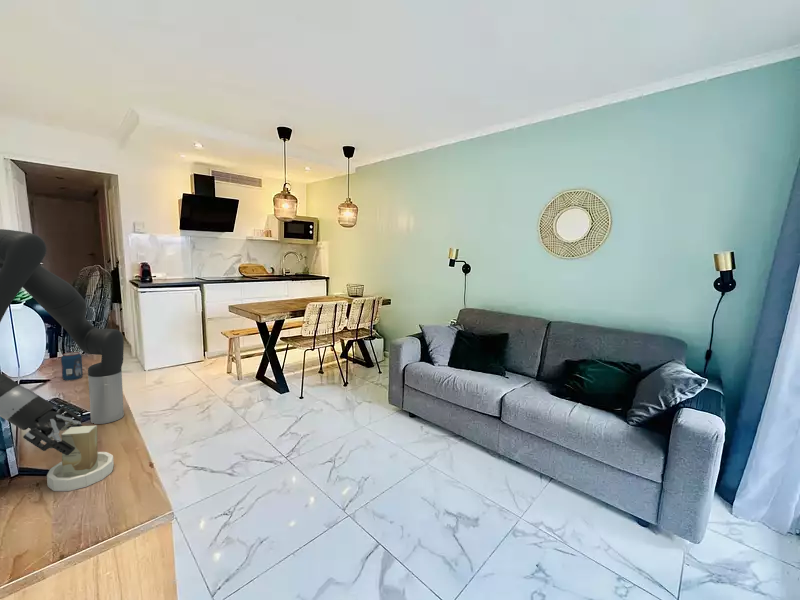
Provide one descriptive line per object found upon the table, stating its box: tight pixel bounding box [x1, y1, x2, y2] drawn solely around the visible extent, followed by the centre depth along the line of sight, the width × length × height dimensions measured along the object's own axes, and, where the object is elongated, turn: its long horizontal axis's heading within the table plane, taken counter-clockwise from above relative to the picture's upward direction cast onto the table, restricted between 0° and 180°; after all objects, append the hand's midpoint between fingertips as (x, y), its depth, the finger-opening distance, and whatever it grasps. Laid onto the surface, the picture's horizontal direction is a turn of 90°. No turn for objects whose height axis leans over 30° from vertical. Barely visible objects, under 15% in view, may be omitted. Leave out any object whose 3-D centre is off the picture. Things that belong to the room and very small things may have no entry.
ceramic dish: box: [46, 451, 115, 492], centre depth 95 cm, size 13×13×3 cm
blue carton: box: [60, 351, 84, 382], centre depth 163 cm, size 7×7×12 cm
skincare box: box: [60, 424, 99, 477], centre depth 95 cm, size 6×4×12 cm
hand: (80, 443), depth 95 cm, fingers open, 8 cm apart
